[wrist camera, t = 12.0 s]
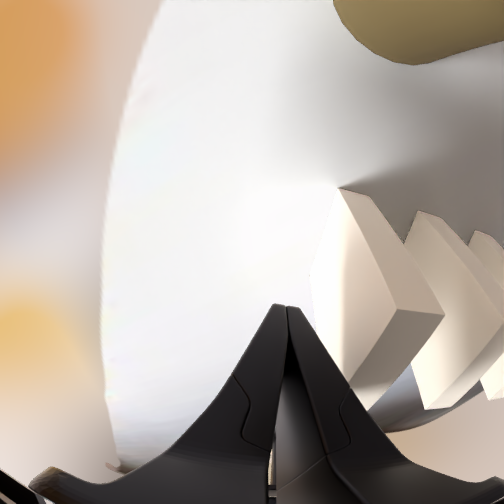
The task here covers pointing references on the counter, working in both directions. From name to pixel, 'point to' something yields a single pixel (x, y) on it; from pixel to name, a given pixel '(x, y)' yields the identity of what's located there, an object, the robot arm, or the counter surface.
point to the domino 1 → (369, 297)
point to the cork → (422, 26)
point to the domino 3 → (500, 267)
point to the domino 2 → (455, 313)
